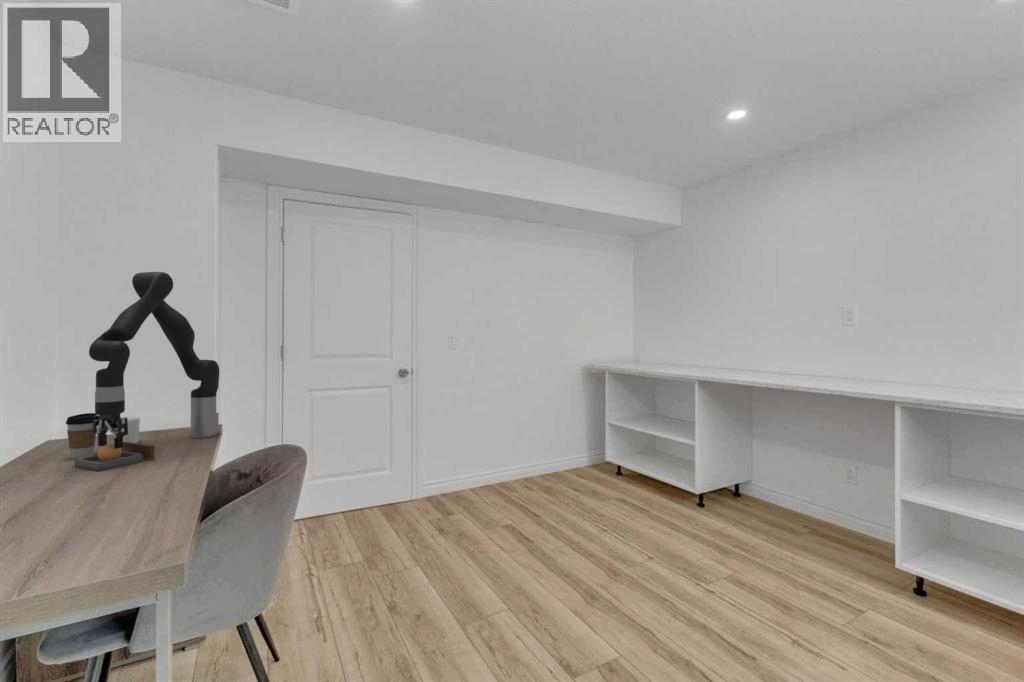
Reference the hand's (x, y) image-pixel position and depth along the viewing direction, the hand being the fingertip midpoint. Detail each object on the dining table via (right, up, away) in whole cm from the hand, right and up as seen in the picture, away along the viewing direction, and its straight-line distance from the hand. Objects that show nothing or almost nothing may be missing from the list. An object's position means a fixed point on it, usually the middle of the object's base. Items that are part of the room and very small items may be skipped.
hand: (110, 446), depth 151 cm
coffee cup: (-17, -6, +8) cm, 20 cm away
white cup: (-18, -5, +27) cm, 33 cm away
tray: (0, -6, 0) cm, 6 cm away
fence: (+3, -6, +8) cm, 10 cm away
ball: (0, -5, 0) cm, 5 cm away
